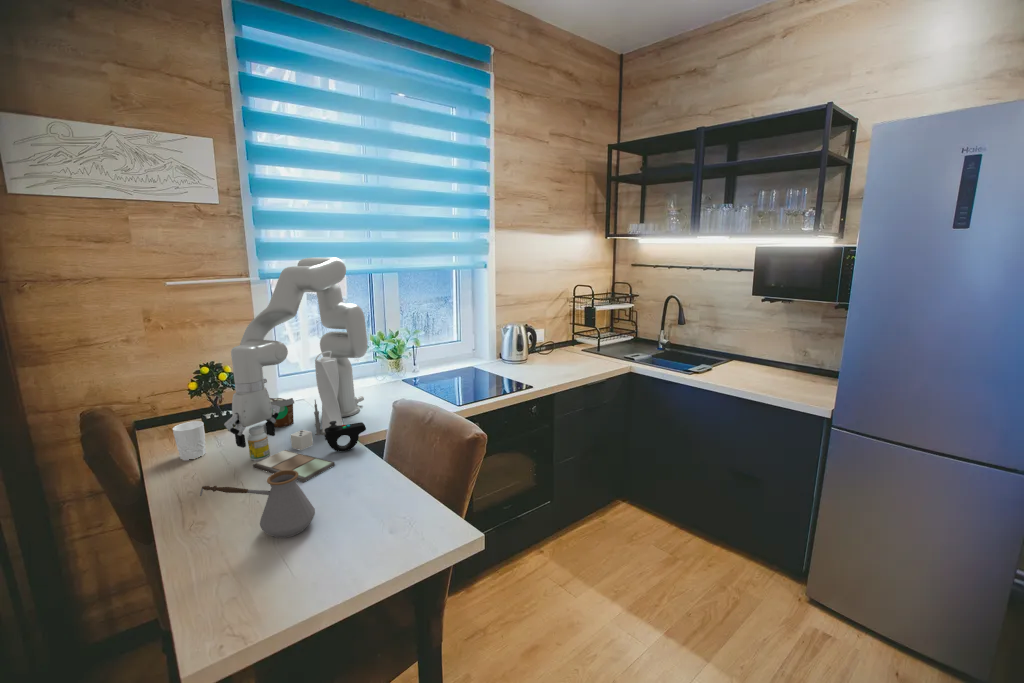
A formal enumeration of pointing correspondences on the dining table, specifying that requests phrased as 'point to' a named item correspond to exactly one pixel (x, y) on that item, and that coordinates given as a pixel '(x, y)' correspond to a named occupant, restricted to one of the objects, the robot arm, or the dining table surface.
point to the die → (301, 439)
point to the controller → (342, 430)
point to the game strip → (294, 464)
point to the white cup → (190, 439)
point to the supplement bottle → (258, 443)
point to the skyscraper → (327, 393)
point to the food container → (283, 411)
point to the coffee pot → (280, 504)
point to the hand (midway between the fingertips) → (256, 440)
